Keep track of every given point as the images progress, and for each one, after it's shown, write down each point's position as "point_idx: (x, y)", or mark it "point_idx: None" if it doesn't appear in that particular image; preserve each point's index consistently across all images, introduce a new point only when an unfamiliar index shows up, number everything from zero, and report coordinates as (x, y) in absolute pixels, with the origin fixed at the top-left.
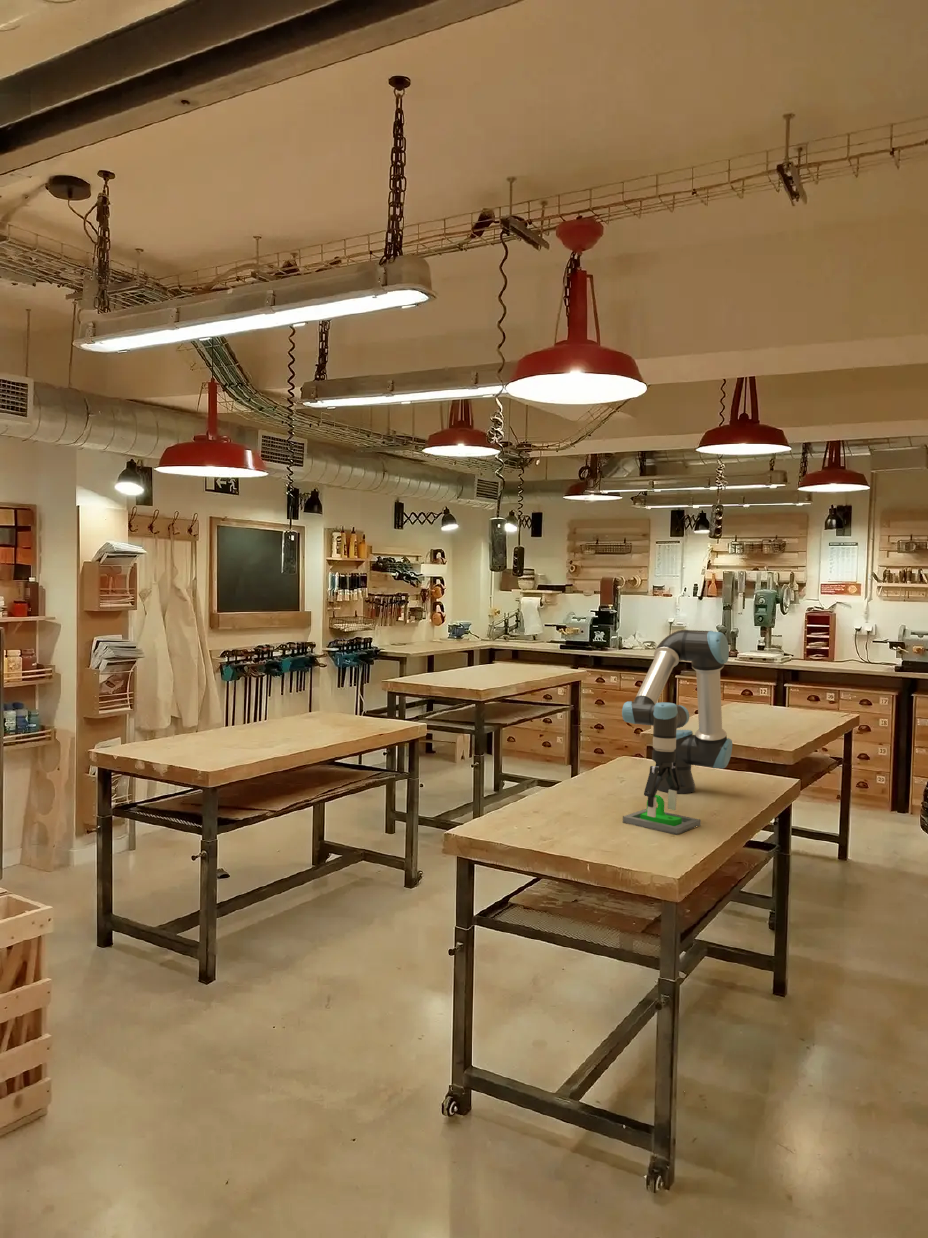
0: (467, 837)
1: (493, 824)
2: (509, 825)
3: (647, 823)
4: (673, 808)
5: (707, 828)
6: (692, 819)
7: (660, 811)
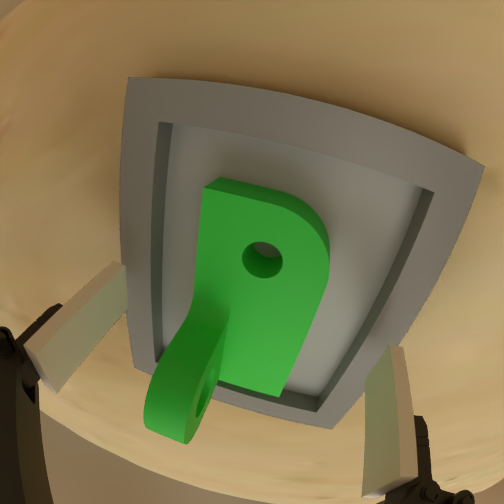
0: (501, 479)
1: None
2: None
3: None
4: (119, 280)
5: (181, 24)
6: (154, 121)
7: (220, 339)
